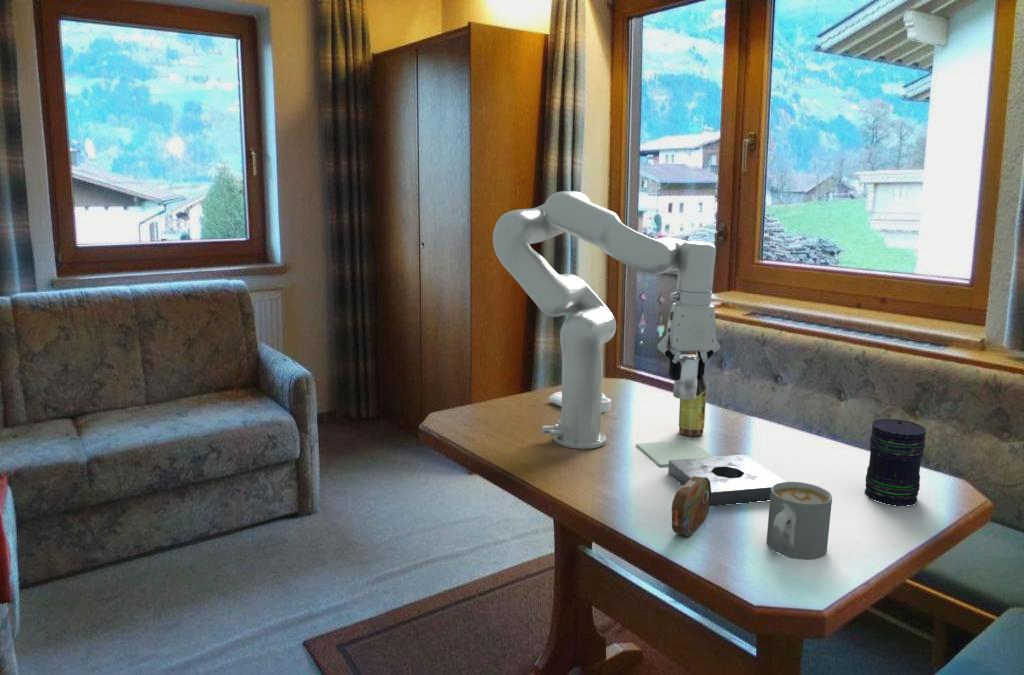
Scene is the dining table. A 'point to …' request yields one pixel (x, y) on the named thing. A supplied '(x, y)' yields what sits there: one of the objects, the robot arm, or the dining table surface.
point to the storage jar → (895, 461)
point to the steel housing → (728, 477)
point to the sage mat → (672, 451)
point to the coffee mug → (799, 520)
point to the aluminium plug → (687, 377)
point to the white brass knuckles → (605, 403)
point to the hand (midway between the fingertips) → (686, 378)
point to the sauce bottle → (693, 411)
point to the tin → (691, 505)
